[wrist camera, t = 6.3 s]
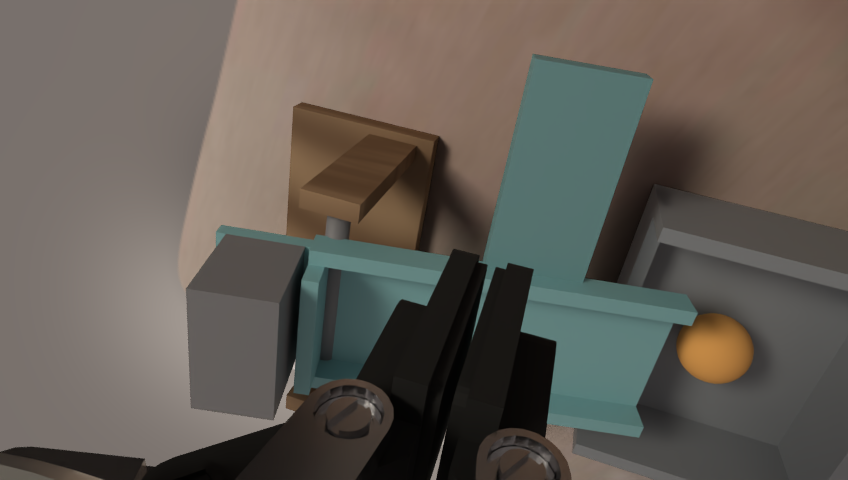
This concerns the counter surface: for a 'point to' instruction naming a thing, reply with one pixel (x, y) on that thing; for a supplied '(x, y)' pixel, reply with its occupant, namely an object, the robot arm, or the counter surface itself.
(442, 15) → the counter surface
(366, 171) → the lever stand
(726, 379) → the ball
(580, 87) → the lever arm
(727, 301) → the bin
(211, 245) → the counter surface
